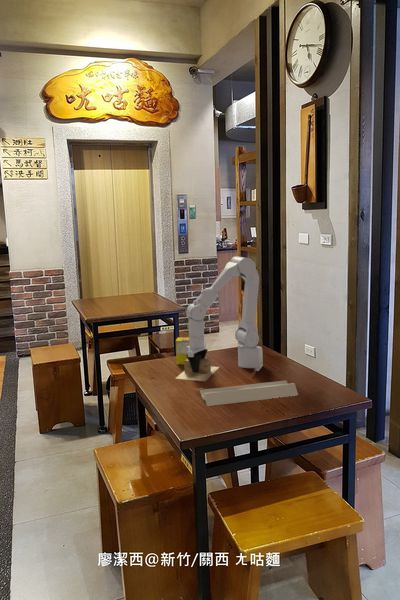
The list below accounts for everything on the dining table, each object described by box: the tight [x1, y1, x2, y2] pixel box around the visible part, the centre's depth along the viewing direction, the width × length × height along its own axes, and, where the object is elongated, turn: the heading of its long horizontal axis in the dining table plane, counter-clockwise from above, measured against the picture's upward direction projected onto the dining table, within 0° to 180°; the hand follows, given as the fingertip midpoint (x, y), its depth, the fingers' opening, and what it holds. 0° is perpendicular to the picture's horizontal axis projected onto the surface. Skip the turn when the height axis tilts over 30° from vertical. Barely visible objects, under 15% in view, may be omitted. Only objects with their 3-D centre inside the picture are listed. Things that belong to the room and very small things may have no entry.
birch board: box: [175, 365, 220, 382], centre depth 189 cm, size 12×17×1 cm
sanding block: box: [183, 358, 212, 375], centre depth 188 cm, size 9×4×5 cm, turn 70°
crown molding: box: [199, 380, 299, 407], centre depth 167 cm, size 31×12×4 cm, turn 102°
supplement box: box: [175, 336, 189, 365], centre depth 202 cm, size 6×6×11 cm
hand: (197, 370), depth 188 cm, fingers closed on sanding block, 4 cm apart
